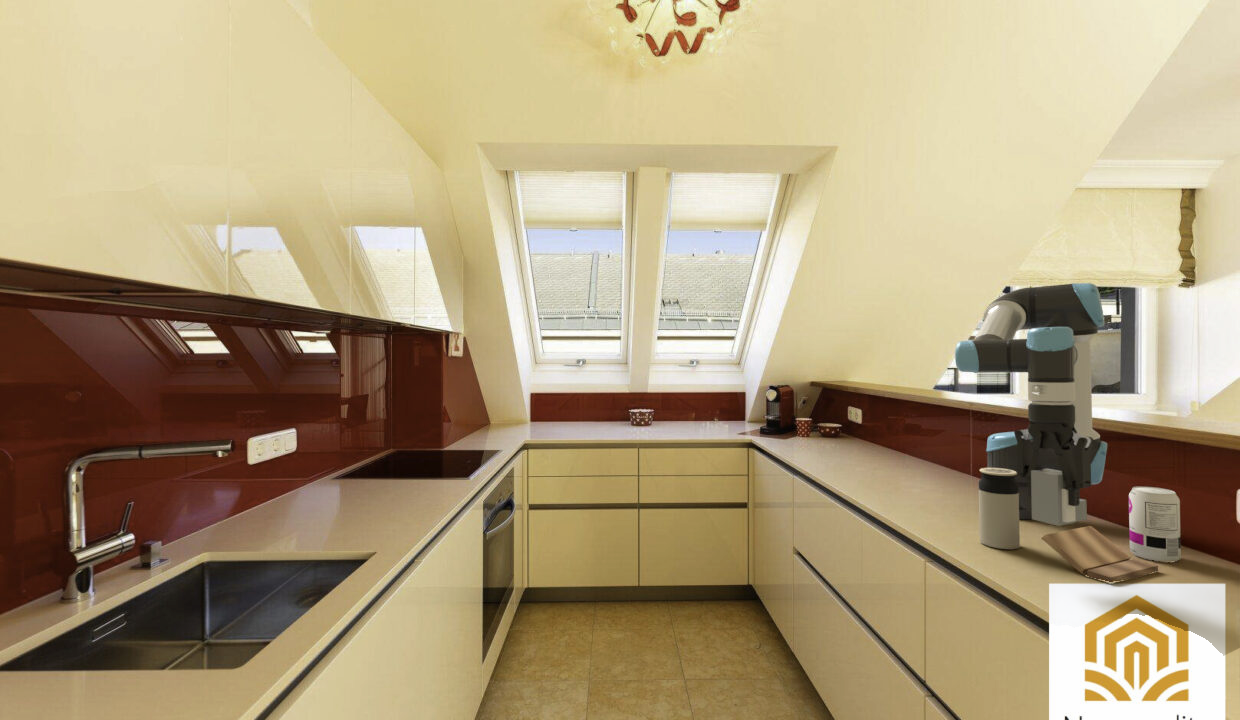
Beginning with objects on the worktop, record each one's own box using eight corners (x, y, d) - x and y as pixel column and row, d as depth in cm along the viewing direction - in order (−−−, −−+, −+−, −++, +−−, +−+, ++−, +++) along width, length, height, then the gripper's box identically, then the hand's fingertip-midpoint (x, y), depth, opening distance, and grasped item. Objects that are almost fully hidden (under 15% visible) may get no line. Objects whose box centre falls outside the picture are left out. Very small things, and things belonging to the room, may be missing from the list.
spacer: (1062, 513, 116) (1061, 466, 116) (1089, 520, 111) (1088, 471, 111) (1031, 519, 113) (1031, 470, 113) (1058, 525, 108) (1057, 475, 108)
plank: (1087, 529, 126) (1090, 525, 126) (1128, 562, 119) (1132, 558, 118) (1041, 538, 121) (1044, 534, 120) (1082, 574, 113) (1085, 570, 113)
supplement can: (1122, 554, 125) (1120, 488, 125) (1141, 548, 128) (1140, 484, 128) (1169, 566, 117) (1167, 496, 117) (1188, 559, 121) (1187, 491, 121)
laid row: (1131, 564, 119) (1131, 557, 119) (1158, 571, 114) (1157, 565, 114) (1084, 576, 113) (1084, 569, 113) (1110, 584, 109) (1110, 577, 109)
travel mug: (1026, 551, 128) (1025, 474, 128) (988, 549, 129) (987, 473, 129) (1009, 540, 136) (1008, 467, 136) (974, 538, 137) (972, 467, 137)
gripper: (994, 400, 118) (996, 508, 118) (1089, 407, 101) (1092, 532, 101) (1018, 399, 121) (1020, 504, 121) (1115, 405, 104) (1118, 527, 104)
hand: (1053, 517), depth 111 cm, fingers closed on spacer, 5 cm apart
